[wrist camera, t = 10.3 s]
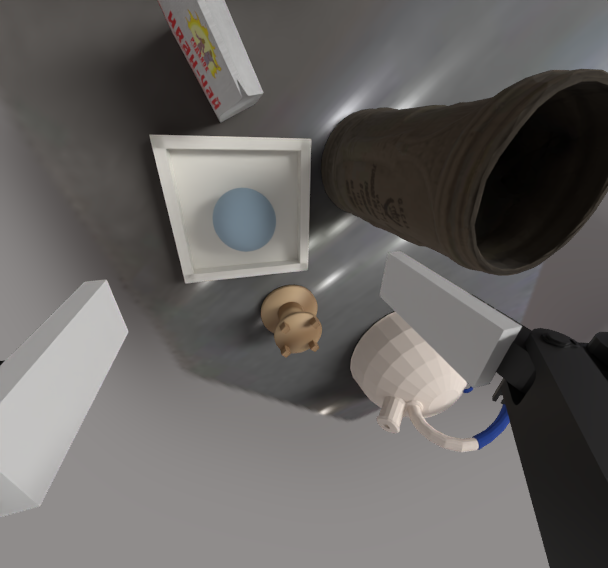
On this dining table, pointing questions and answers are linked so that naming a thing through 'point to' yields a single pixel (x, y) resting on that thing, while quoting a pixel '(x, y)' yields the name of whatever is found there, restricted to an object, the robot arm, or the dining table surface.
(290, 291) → the stand
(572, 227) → the beer stein
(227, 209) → the ball
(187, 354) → the dining table surface
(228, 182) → the tray
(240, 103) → the white cardboard box
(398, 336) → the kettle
